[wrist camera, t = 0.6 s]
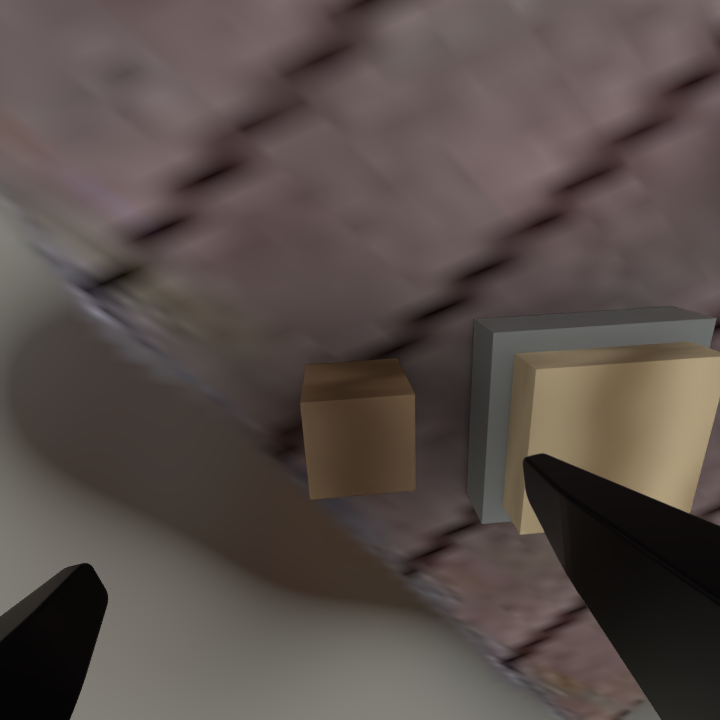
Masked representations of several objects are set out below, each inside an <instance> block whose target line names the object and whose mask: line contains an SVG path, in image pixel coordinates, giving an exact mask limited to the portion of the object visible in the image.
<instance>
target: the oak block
mask: <svg viewBox="0 0 720 720" xmlns="http://www.w3.org/2000/svg"><path fill="white" fill-rule="evenodd" d="M719 399H720V352H719V351H716V350H713V349H710V348H707V347H704V346H701V345H699V344H696V343H693V342H675V343H661V344H646V345H632V346H617V347H603V348H588V349H574V350H559V351H544V352H530V353H515V356H514V369H513V382H512V394H511V407H510V420H509V432H508V445H507V458H506V470H505V483H504V496H503V507H504V509H505V511H506V512H507V514H508V516H509V517H510V519H511V521H512V522H513V524H514V525H515V527H516V529H517V530H518V532H519V534H520V535H522V534H533V533H543V532H544V530H543V528H542V526H541V524H540V522H539V520H538V518H537V517H536V515H535V513H534V511H533V509H532V507H531V505H530V503H529V500H528V498H527V494H526V489H525V481H524V472H523V459H524V458H525V457H527V456H532V455H536V454H540V453H544V454H547V455H550V456H552V457H555V458H557V459H560V460H562V461H564V462H567V463H569V464H572V465H574V466H576V467H579V468H581V469H584V470H586V471H588V472H591V473H593V474H596V475H598V476H600V477H603V478H605V479H608V480H610V481H613V482H615V483H617V484H620V485H622V486H625V487H627V488H629V489H632V490H634V491H637V492H639V493H641V494H644V495H646V496H649V497H651V498H653V499H656V500H658V501H661V502H663V503H666V504H668V505H670V506H673V507H675V508H678V509H680V510H682V511H685V512H687V513H690V511H691V507H692V503H693V499H694V496H695V492H696V488H697V484H698V480H699V476H700V472H701V468H702V465H703V461H704V457H705V453H706V449H707V445H708V441H709V437H710V434H711V430H712V426H713V422H714V418H715V414H716V410H717V406H718V402H719Z"/></svg>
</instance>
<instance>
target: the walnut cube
mask: <svg viewBox="0 0 720 720" xmlns="http://www.w3.org/2000/svg"><path fill="white" fill-rule="evenodd" d="M300 407H301V417H302V426H303V436H304V446H305V455H306V465H307V475H308V484H309V494H310V500H313V499H325V498H336V497H348V496H360V495H372V494H383V493H395V492H407V491H415V393H414V391H413V389H412V387H411V385H410V383H409V381H408V379H407V377H406V375H405V373H404V371H403V369H402V366H401V364H400V362H399V360H398V358H394V359H380V360H365V361H351V362H336V363H322V364H307V365H306V366H305V373H304V380H303V387H302V393H301V400H300Z"/></svg>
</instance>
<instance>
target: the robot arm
mask: <svg viewBox="0 0 720 720" xmlns="http://www.w3.org/2000/svg"><path fill="white" fill-rule="evenodd" d="M523 472H524V481H525V489H526V494H527V498H528V500H529V503H530V505H531V507H532V509H533V511H534V513H535V515H536V517H537V518H538V520H539V522H540V524H541V526H542V528H543V530H544V532H545V534H546V536H547V538H548V540H549V542H550V544H551V546H552V548H553V550H554V552H555V554H556V556H557V557H558V559H559V561H560V563H561V565H562V567H563V569H564V571H565V572H566V574H567V576H568V577H569V579H570V581H571V582H572V584H573V585H574V587H575V589H576V590H577V592H578V593H579V595H580V596H581V598H582V599H583V601H584V602H585V604H586V605H587V607H588V608H589V610H590V611H591V613H592V614H593V616H594V618H595V619H596V621H597V622H598V624H599V625H600V627H601V628H602V630H603V631H604V633H605V634H606V636H607V637H608V639H609V640H610V642H611V643H612V645H613V647H614V648H615V650H616V651H617V653H618V654H619V656H620V657H621V659H622V660H623V662H624V663H625V665H626V666H627V668H628V669H629V671H630V672H631V674H632V676H633V677H634V679H635V680H636V682H637V683H638V685H639V686H640V688H641V689H642V691H643V692H644V694H645V695H646V697H647V698H648V700H649V701H650V703H651V705H652V706H653V707H654V709H655V711H656V712H657V714H658V715H659V717H660V718H661V720H720V526H719V525H716V524H714V523H711V522H709V521H706V520H704V519H702V518H699V517H697V516H694V515H692V514H690V513H687V512H685V511H682V510H680V509H678V508H675V507H673V506H670V505H668V504H666V503H663V502H661V501H658V500H656V499H653V498H651V497H649V496H646V495H644V494H641V493H639V492H637V491H634V490H632V489H629V488H627V487H625V486H622V485H620V484H617V483H615V482H613V481H610V480H608V479H605V478H603V477H600V476H598V475H596V474H593V473H591V472H588V471H586V470H584V469H581V468H579V467H576V466H574V465H572V464H569V463H567V462H564V461H562V460H560V459H557V458H555V457H552V456H550V455H547V454H544V453H540V454H536V455H532V456H527V457H525V458H524V459H523ZM107 603H108V594H107V591H106V589H105V587H104V585H103V584H102V582H101V580H100V579H99V577H98V575H97V573H96V572H95V570H94V568H93V567H92V566H91V565H90V564H88V563H82V564H78V565H74V566H70V567H67V568H64V569H63V570H61V571H60V572H59V573H57V574H56V575H55V576H54V577H52V578H51V579H49V580H48V581H47V582H46V583H44V584H43V585H42V586H40V587H39V588H38V589H36V590H35V591H34V592H32V593H31V594H30V595H28V596H27V597H26V598H24V599H23V600H22V601H20V602H19V603H18V604H16V605H15V606H14V607H12V608H11V609H10V610H8V611H7V612H6V613H4V614H3V615H2V616H0V720H70V718H71V715H72V713H73V710H74V708H75V705H76V703H77V700H78V697H79V694H80V692H81V689H82V686H83V683H84V680H85V677H86V674H87V670H88V667H89V664H90V660H91V657H92V654H93V651H94V647H95V644H96V641H97V637H98V634H99V631H100V628H101V624H102V621H103V618H104V614H105V611H106V607H107Z"/></svg>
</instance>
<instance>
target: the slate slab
mask: <svg viewBox="0 0 720 720" xmlns="http://www.w3.org/2000/svg"><path fill="white" fill-rule="evenodd" d="M716 319H717V318H714V317H710V316H707V315H703V314H699V313H695V312H692V311H688V310H684V309H680V308H677V307H673V306H672V307H656V308H640V309H625V310H609V311H593V312H578V313H562V314H546V315H531V316H515V317H499V318H484V319H474V336H473V359H472V381H471V404H470V426H469V449H468V472H467V495H468V497H469V499H470V501H471V503H472V505H473V507H474V509H475V511H476V513H477V515H478V517H479V519H480V521H481V523H482V524H488V523H499V522H510V521H511V519H510V517H509V516H508V514H507V512H506V511H505V509H504V507H503V496H504V483H505V470H506V458H507V445H508V432H509V420H510V407H511V394H512V382H513V369H514V356H515V353H530V352H544V351H559V350H574V349H588V348H603V347H617V346H632V345H646V344H661V343H675V342H693V343H696V344H699V345H701V346H704V347H707V348H710V344H711V340H712V335H713V331H714V327H715V323H716Z"/></svg>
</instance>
